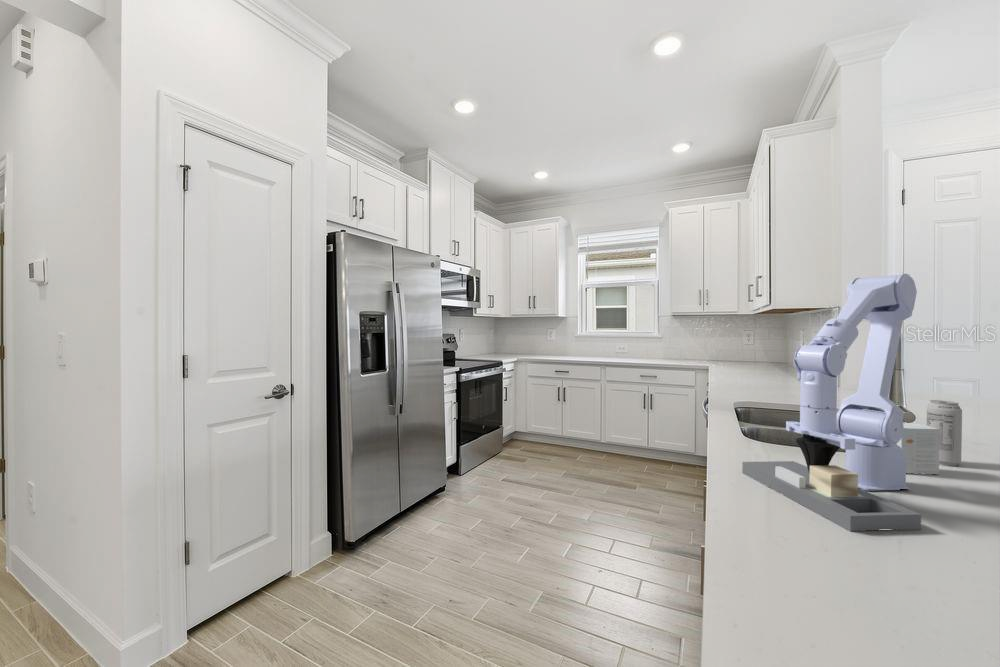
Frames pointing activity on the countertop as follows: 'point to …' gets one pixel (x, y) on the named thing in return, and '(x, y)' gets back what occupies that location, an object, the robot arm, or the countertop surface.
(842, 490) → the block
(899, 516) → the grey long flat tray
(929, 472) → the small box
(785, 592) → the countertop surface
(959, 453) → the energy drink can
